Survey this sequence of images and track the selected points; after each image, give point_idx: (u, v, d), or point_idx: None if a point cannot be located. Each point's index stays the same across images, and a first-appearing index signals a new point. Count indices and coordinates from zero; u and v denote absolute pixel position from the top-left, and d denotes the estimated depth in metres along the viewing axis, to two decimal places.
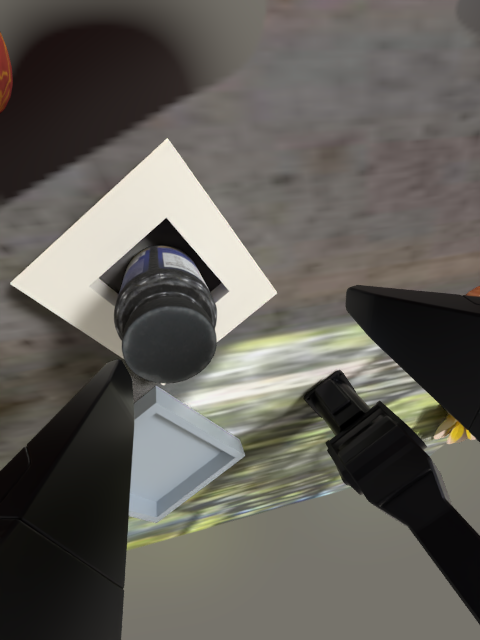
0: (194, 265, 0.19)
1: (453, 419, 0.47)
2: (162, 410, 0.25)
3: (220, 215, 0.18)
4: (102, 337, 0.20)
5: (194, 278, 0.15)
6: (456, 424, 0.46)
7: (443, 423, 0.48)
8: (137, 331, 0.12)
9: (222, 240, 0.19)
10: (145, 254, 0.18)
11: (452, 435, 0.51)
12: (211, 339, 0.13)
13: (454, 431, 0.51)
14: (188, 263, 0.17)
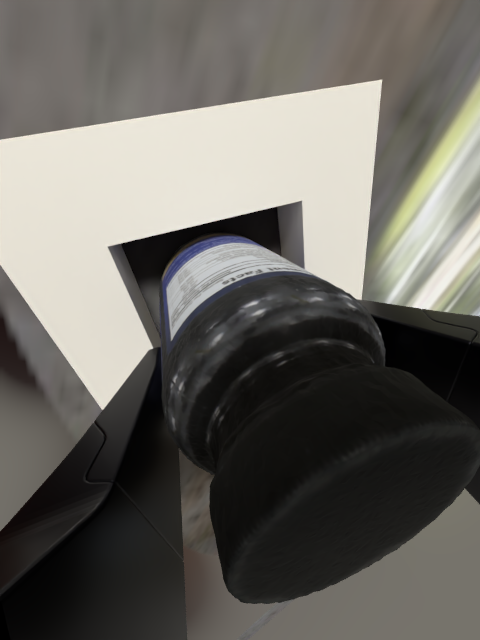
0: (217, 243, 0.09)
1: None
2: None
3: (139, 123, 0.07)
4: None
5: (227, 305, 0.05)
6: None
7: None
8: (262, 589, 0.04)
9: (195, 152, 0.08)
10: None
11: None
12: (447, 438, 0.03)
13: None
14: (203, 261, 0.08)
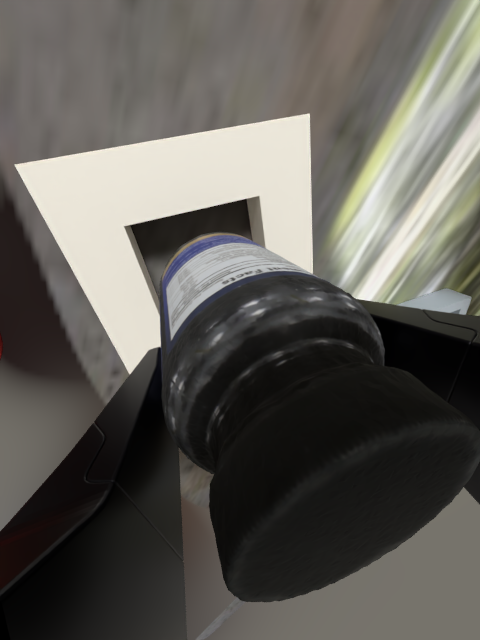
0: (216, 243, 0.09)
1: None
2: None
3: (146, 145, 0.11)
4: None
5: (227, 305, 0.05)
6: None
7: None
8: (262, 587, 0.04)
9: (183, 163, 0.12)
10: None
11: None
12: (446, 437, 0.03)
13: None
14: (202, 261, 0.08)
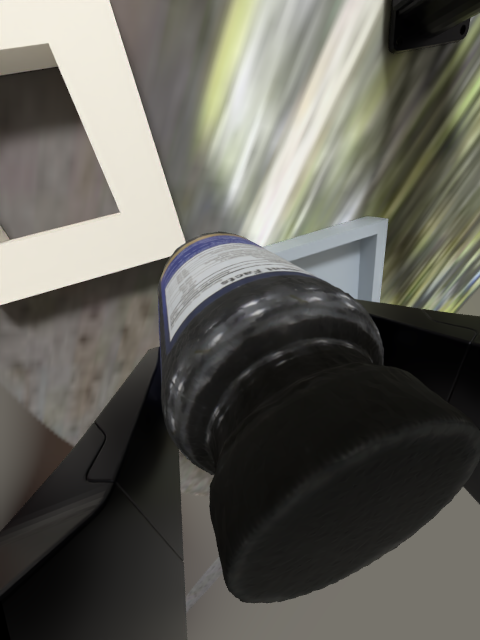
0: (215, 244, 0.09)
1: None
2: None
3: None
4: (76, 274, 0.16)
5: (226, 305, 0.05)
6: None
7: None
8: (263, 588, 0.04)
9: None
10: None
11: None
12: (446, 437, 0.03)
13: None
14: (201, 262, 0.08)
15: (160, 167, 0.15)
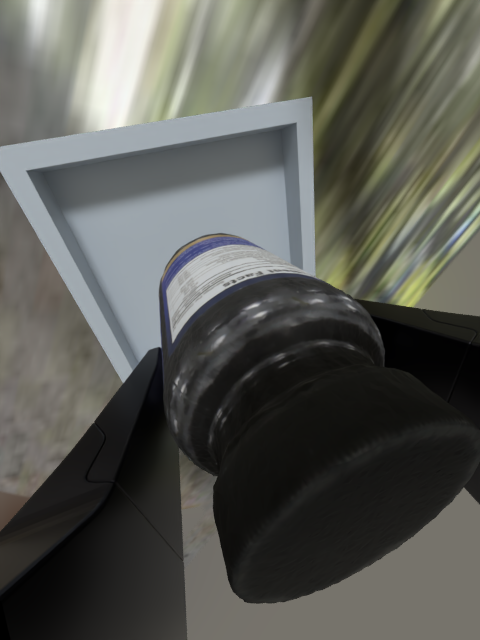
0: (216, 245, 0.09)
1: None
2: (22, 154, 0.11)
3: None
4: None
5: (229, 307, 0.05)
6: None
7: None
8: (266, 588, 0.04)
9: None
10: None
11: None
12: (448, 438, 0.03)
13: None
14: (203, 263, 0.08)
15: None
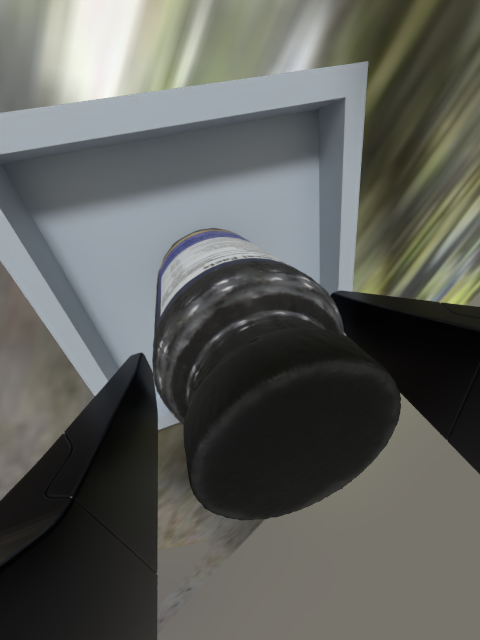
0: (206, 238, 0.10)
1: None
2: None
3: None
4: None
5: (204, 284, 0.06)
6: None
7: None
8: (222, 499, 0.05)
9: None
10: None
11: None
12: (356, 375, 0.04)
13: None
14: (191, 252, 0.09)
15: None
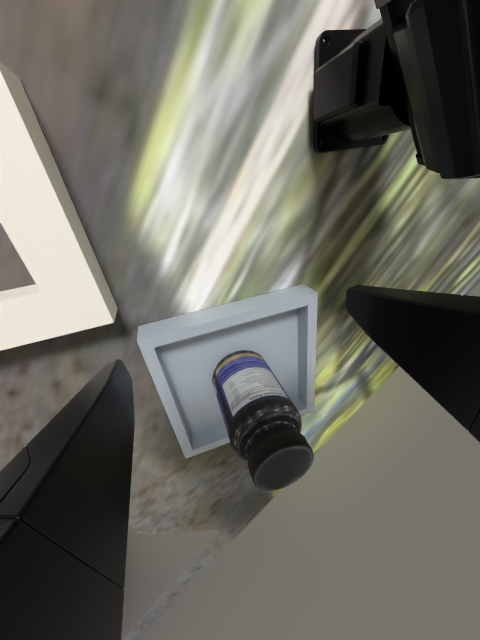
0: (243, 367, 0.23)
1: None
2: (154, 340, 0.20)
3: None
4: None
5: (252, 410, 0.18)
6: None
7: None
8: (260, 482, 0.17)
9: None
10: (216, 392, 0.23)
11: None
12: (298, 449, 0.17)
13: None
14: (239, 380, 0.21)
15: (81, 253, 0.16)
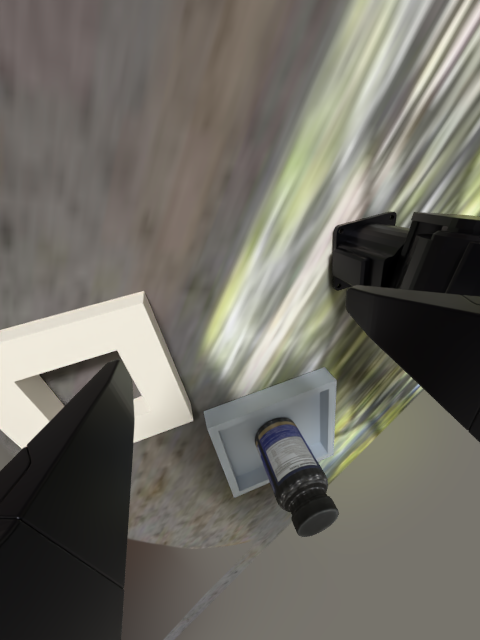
0: (281, 437, 0.30)
1: None
2: (218, 427, 0.27)
3: (20, 338, 0.17)
4: None
5: (293, 480, 0.26)
6: None
7: None
8: (302, 533, 0.25)
9: (51, 343, 0.18)
10: (261, 454, 0.31)
11: None
12: (328, 511, 0.24)
13: None
14: (279, 450, 0.29)
15: (177, 386, 0.23)
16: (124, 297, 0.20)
